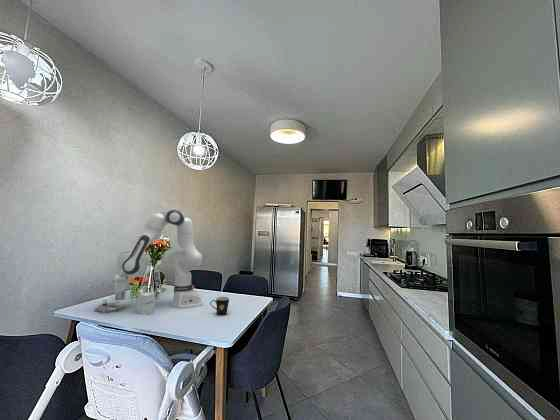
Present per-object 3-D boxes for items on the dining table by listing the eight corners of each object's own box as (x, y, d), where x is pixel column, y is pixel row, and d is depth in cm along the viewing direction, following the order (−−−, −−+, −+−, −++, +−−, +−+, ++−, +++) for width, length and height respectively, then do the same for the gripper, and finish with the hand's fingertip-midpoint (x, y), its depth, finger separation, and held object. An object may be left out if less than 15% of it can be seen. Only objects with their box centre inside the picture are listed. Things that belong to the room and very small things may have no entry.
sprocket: (113, 303, 164) (114, 296, 164) (130, 307, 158) (131, 300, 159) (89, 310, 150) (90, 302, 150) (107, 314, 144) (108, 306, 144)
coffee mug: (230, 312, 160) (231, 297, 161) (223, 316, 152) (224, 301, 153) (216, 310, 164) (217, 295, 165) (208, 314, 156) (209, 298, 157)
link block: (124, 298, 160) (125, 291, 161) (123, 299, 157) (124, 292, 157) (116, 299, 158) (117, 292, 159) (114, 300, 155) (115, 293, 155)
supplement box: (143, 316, 147) (145, 295, 148) (135, 314, 150) (137, 294, 151) (153, 313, 154) (155, 293, 155) (145, 311, 156) (147, 291, 158)
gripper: (120, 273, 167) (118, 293, 166) (113, 278, 149) (111, 301, 147) (130, 273, 170) (128, 292, 168) (125, 278, 151) (122, 300, 150)
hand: (120, 297), depth 158 cm, fingers closed on link block, 3 cm apart
